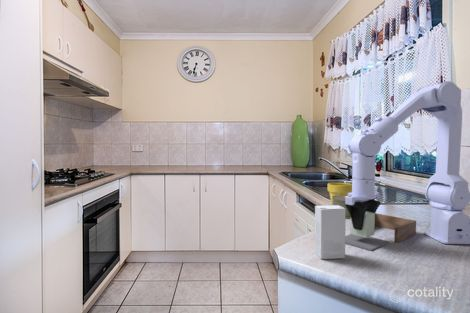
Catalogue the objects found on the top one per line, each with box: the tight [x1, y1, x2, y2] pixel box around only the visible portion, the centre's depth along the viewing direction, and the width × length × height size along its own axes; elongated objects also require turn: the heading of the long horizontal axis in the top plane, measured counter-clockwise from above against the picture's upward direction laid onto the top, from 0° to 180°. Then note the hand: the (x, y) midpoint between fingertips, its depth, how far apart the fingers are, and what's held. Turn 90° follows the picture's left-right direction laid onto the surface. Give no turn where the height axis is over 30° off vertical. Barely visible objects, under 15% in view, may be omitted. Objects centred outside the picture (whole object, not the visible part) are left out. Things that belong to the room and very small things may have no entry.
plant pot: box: [327, 182, 352, 205], centre depth 128 cm, size 10×10×10 cm
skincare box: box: [314, 204, 346, 260], centre depth 70 cm, size 6×4×12 cm
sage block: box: [349, 211, 375, 238], centre depth 80 cm, size 4×4×6 cm
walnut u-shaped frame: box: [374, 212, 417, 243], centre depth 88 cm, size 13×13×4 cm
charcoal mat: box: [345, 233, 390, 252], centre depth 80 cm, size 10×10×1 cm
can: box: [331, 195, 351, 220], centre depth 110 cm, size 12×12×7 cm
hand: (362, 227), depth 80 cm, fingers closed on sage block, 4 cm apart
